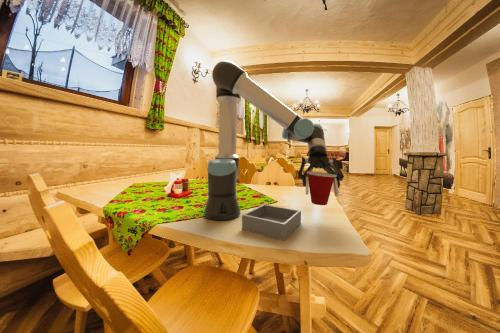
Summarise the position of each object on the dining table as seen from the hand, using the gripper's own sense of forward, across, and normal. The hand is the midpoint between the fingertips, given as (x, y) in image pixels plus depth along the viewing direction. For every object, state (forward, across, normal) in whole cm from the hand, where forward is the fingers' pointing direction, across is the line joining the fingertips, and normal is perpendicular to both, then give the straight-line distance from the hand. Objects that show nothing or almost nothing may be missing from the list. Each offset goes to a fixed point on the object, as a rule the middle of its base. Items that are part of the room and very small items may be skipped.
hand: (321, 193), depth 69 cm
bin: (+13, +17, -4) cm, 22 cm away
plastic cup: (+1, 0, -6) cm, 6 cm away
